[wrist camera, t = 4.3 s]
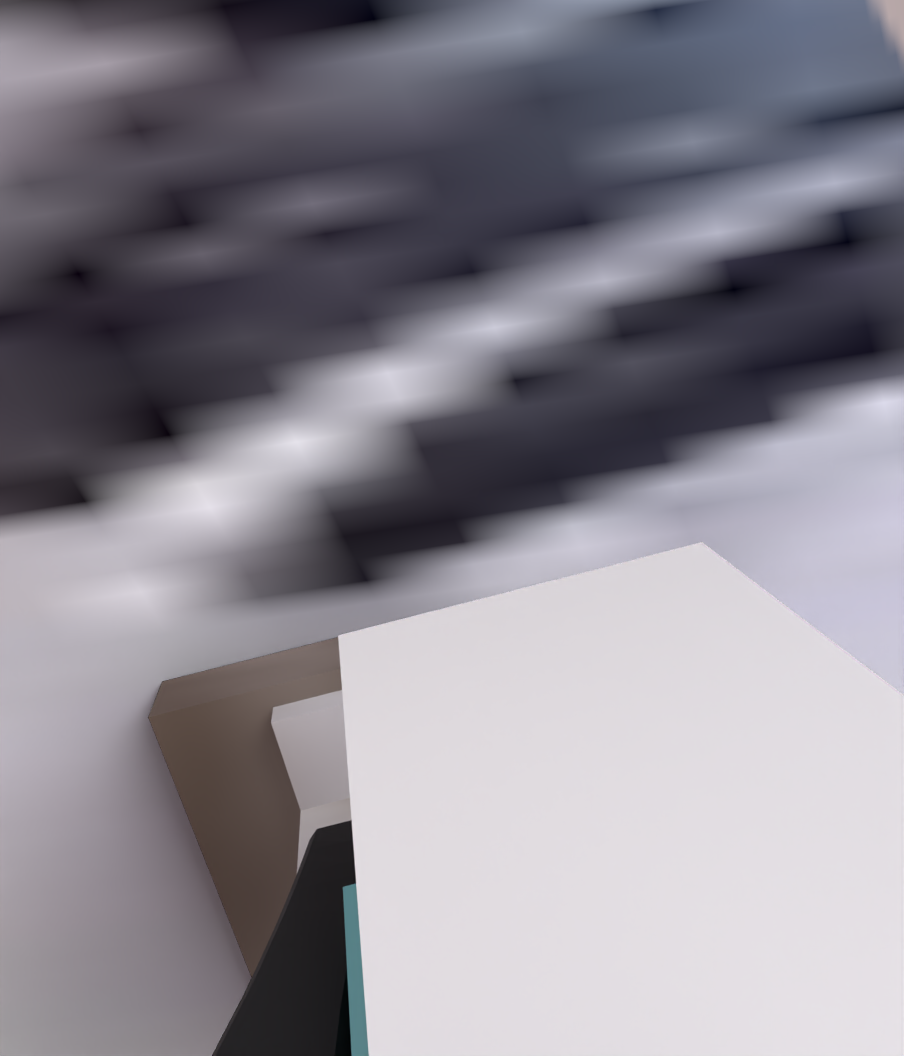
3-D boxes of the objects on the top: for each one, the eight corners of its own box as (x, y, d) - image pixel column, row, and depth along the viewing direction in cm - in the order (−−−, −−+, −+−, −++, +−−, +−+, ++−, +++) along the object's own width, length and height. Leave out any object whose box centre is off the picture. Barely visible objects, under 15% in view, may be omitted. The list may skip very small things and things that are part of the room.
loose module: (701, 542, 11) (1242, 950, 5) (730, 811, 13) (1168, 1400, 6) (322, 638, 11) (343, 1236, 4) (399, 905, 12) (500, 1643, 6)
